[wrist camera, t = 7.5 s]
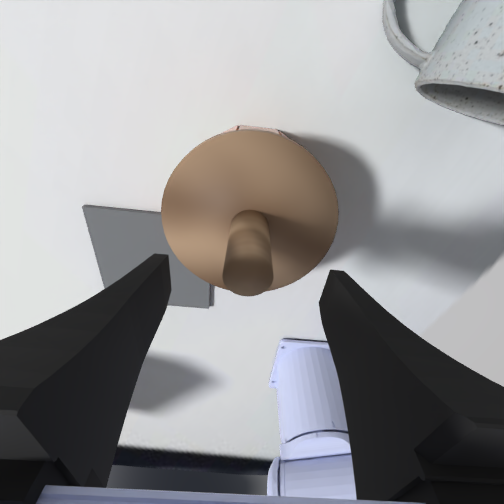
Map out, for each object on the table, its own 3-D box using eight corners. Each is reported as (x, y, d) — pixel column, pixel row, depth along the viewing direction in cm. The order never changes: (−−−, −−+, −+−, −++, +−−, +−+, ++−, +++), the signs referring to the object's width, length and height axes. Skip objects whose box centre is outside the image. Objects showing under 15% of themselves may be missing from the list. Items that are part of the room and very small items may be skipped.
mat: (209, 305, 26) (209, 308, 26) (109, 297, 26) (107, 300, 25) (211, 217, 21) (210, 219, 20) (84, 204, 20) (81, 206, 20)
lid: (304, 293, 20) (321, 360, 15) (165, 271, 19) (134, 337, 14) (362, 150, 15) (419, 186, 10) (166, 109, 13) (113, 124, 8)
